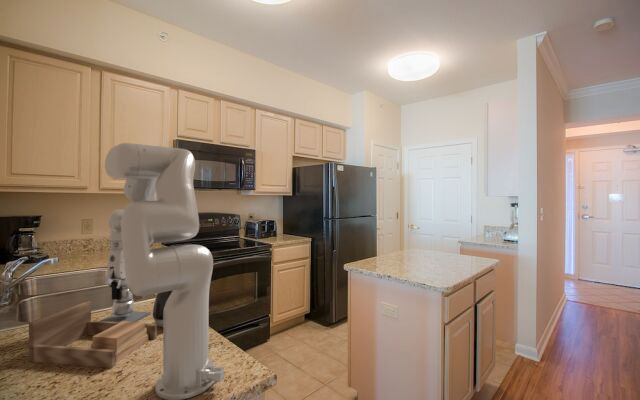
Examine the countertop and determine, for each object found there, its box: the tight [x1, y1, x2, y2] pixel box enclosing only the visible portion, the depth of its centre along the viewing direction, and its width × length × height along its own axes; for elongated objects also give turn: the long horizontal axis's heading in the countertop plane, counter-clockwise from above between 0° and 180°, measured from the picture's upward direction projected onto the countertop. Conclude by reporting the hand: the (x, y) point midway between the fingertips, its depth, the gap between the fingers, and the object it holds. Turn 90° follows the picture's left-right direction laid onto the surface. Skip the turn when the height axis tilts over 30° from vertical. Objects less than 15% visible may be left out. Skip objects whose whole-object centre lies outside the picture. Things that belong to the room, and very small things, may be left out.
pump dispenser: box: [152, 290, 173, 328], centre depth 103 cm, size 10×10×15 cm
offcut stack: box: [90, 321, 149, 363], centre depth 86 cm, size 8×12×6 cm, turn 172°
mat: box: [99, 310, 152, 322], centre depth 107 cm, size 12×12×1 cm
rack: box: [28, 300, 158, 369], centre depth 86 cm, size 24×17×10 cm
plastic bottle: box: [111, 276, 135, 316], centre depth 107 cm, size 6×7×20 cm
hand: (123, 296), depth 107 cm, fingers closed on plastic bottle, 5 cm apart
